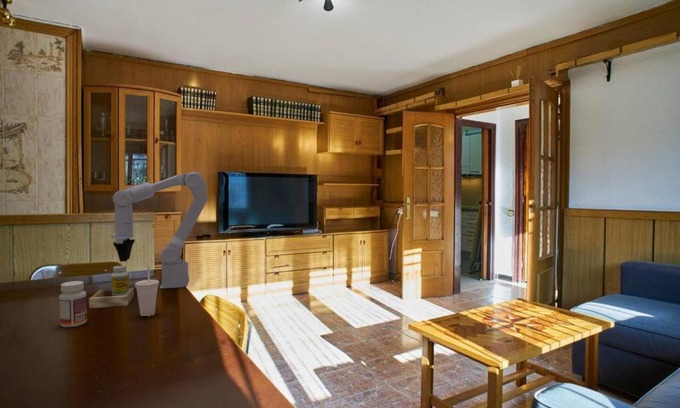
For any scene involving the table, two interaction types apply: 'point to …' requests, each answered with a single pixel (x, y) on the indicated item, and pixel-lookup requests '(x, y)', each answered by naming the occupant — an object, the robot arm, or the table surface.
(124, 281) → the supplement bottle
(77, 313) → the pill bottle
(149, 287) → the smoothie
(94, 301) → the beech corral
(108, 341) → the table surface
